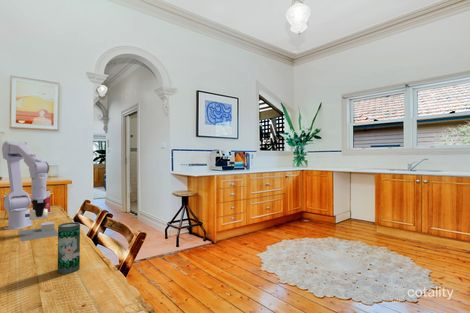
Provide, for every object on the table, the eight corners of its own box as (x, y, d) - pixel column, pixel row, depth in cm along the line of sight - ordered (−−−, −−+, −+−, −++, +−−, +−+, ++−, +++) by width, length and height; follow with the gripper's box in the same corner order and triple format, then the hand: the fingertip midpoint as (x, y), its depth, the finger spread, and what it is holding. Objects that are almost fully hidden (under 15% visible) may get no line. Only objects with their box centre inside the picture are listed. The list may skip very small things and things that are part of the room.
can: (56, 275, 85) (57, 227, 85) (59, 268, 90) (59, 223, 90) (79, 271, 87) (79, 225, 87) (80, 264, 93) (80, 221, 93)
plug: (25, 220, 123) (25, 212, 123) (24, 219, 126) (24, 210, 126) (52, 217, 129) (52, 209, 129) (51, 216, 132) (51, 208, 132)
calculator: (38, 216, 162) (38, 191, 162) (31, 216, 162) (31, 191, 162) (51, 212, 173) (51, 189, 173) (44, 212, 173) (44, 189, 173)
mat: (18, 231, 130) (18, 231, 130) (53, 227, 140) (53, 226, 140) (20, 242, 115) (20, 241, 115) (59, 236, 125) (59, 235, 125)
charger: (40, 229, 134) (40, 223, 134) (52, 227, 137) (52, 221, 137) (41, 231, 130) (41, 225, 130) (54, 229, 134) (54, 223, 134)
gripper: (51, 188, 125) (50, 217, 125) (47, 185, 135) (46, 212, 136) (32, 189, 120) (31, 219, 120) (29, 186, 131) (29, 214, 131)
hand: (38, 215), depth 127 cm, fingers closed on plug, 4 cm apart
